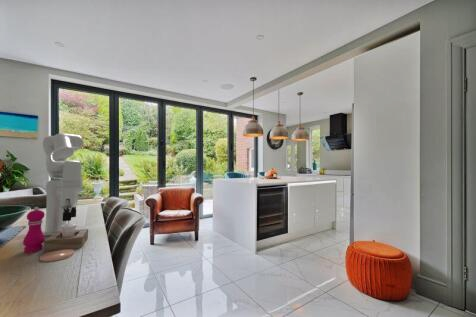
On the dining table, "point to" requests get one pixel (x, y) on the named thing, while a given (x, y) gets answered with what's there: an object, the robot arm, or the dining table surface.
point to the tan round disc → (56, 255)
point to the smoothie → (68, 229)
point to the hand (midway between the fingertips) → (69, 218)
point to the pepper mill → (34, 232)
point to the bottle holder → (65, 241)
